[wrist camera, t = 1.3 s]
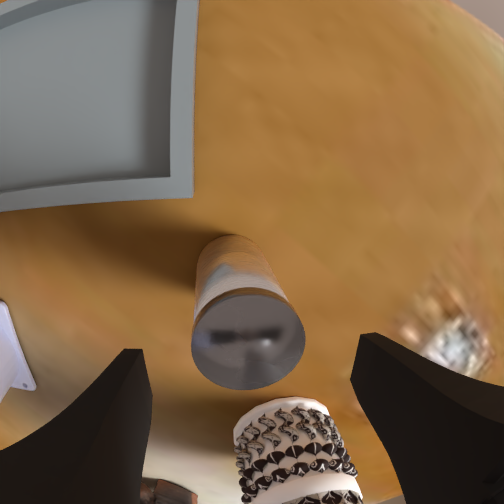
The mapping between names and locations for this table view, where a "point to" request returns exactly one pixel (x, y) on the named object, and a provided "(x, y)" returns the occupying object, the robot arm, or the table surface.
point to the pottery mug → (166, 494)
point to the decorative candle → (293, 455)
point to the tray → (96, 101)
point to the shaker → (242, 318)
